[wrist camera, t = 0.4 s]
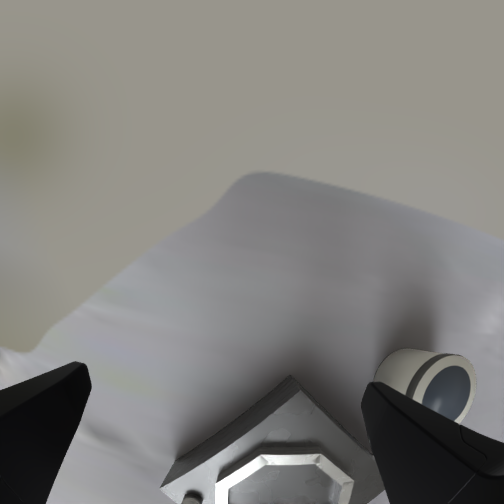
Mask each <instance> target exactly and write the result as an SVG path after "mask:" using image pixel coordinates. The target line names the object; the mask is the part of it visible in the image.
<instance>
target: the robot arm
mask: <svg viewBox="0 0 504 504" xmlns="http://www.w3.org/2000/svg"><path fill="white" fill-rule="evenodd" d="M91 388H92V385H91V380H90V376H89V372H88V368H87V366H86V364H84V363H81V362H76V361H74V362H72V363H69V364H67V365H64V366H62V367H59V368H57V369H54V370H52V371H49V372H47V373H44V374H42V375H39V376H36V377H34V378H31V379H29V380H26V381H24V382H21V383H18V384H16V385H13V386H10V387H8V388H5V389H2V390H0V504H46V502H47V499H48V496H49V494H50V491H51V489H52V486H53V484H54V481H55V479H56V476H57V474H58V471H59V469H60V467H61V464H62V462H63V460H64V457H65V455H66V453H67V450H68V448H69V446H70V444H71V441H72V439H73V437H74V435H75V433H76V431H77V428H78V426H79V424H80V421H81V418H82V415H83V412H84V409H85V406H86V403H87V400H88V397H89V395H90V392H91ZM361 409H362V413H363V417H364V421H365V426H366V430H367V435H368V439H369V443H370V446H371V450H372V452H373V455H374V458H375V461H376V464H377V467H378V470H379V472H380V475H381V478H382V481H383V484H384V487H385V490H386V493H387V496H388V499H389V502H390V504H504V443H502V442H500V441H497V440H494V439H492V438H489V437H487V436H484V435H482V434H479V433H477V432H475V431H473V430H471V429H468V428H467V427H465V426H463V425H459V423H457V422H455V421H453V420H451V419H449V418H447V417H445V416H443V415H441V414H439V413H437V412H435V411H434V410H432V409H430V408H428V407H426V406H424V405H422V404H421V403H419V402H417V401H415V400H413V399H411V398H410V397H408V396H406V395H404V394H402V393H400V392H399V391H397V390H395V389H393V388H392V387H390V386H388V385H386V384H384V383H383V382H380V381H378V382H370V383H369V384H368V385H367V387H366V390H365V393H364V396H363V399H362V402H361Z"/></svg>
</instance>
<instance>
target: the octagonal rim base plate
mask: <svg viewBox="0 0 504 504" xmlns="http://www.w3.org/2000/svg"><path fill="white" fill-rule="evenodd" d="M159 489H160V490H161V491H162V492H164V493H165V494H166V495H167V496H168V497H169V498H171V499H172V500H173V501H174V502H175V503H177V504H367V503H369V502H370V501H371V500H372V499H374V498H375V497H376V496H377V495H379V494H380V493H381V492H382V491H384V490H385V487H384V484H383V481H382V478H381V475H380V472H379V470H378V467H377V464H376V461H375V458H374V456H373V455H372V454H371V453H370V452H368V451H367V450H366V449H365V448H364V447H363V446H362V445H361V444H360V443H359V442H358V441H357V440H356V439H355V438H353V437H352V436H351V435H350V434H349V433H348V432H347V431H346V430H345V429H344V428H343V427H342V426H341V425H340V424H339V423H338V422H337V421H336V420H335V419H334V418H333V417H332V416H331V415H330V414H329V413H328V412H327V411H325V410H324V409H323V408H322V407H321V406H320V405H319V404H318V403H317V402H316V401H315V400H314V399H313V398H312V397H311V396H310V395H309V393H308V392H307V391H306V390H305V389H304V388H303V387H302V386H301V385H300V384H299V383H298V382H297V381H296V380H295V379H294V378H293V377H292V376H291V375H290V376H288V377H287V378H286V379H285V380H284V381H283V382H282V383H280V384H279V385H278V386H277V387H276V388H274V389H273V390H272V391H271V392H270V393H268V394H267V395H266V396H265V397H264V398H262V399H261V400H260V401H259V402H257V403H256V404H255V405H254V406H252V407H251V408H250V409H248V410H247V411H246V412H245V413H243V414H242V415H241V416H239V417H238V418H237V419H235V420H234V421H233V422H231V423H230V424H229V425H227V426H226V427H225V428H223V429H222V430H220V431H219V432H218V433H216V434H215V435H214V436H212V437H211V438H209V439H208V440H206V441H205V442H203V443H202V444H201V445H199V446H198V447H196V448H195V449H193V450H192V451H190V452H189V453H187V454H186V455H184V456H182V457H181V458H179V459H178V460H176V461H175V462H174V464H173V465H172V467H171V469H170V471H169V473H168V474H167V476H166V478H165V480H164V481H163V483H162V485H161V487H160V488H159Z"/></svg>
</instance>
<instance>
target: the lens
mask: <svg viewBox="0 0 504 504" xmlns="http://www.w3.org/2000/svg"><path fill="white" fill-rule="evenodd" d="M378 381H380V382H383V383H384V384H386V385H388V386H390V387H392V388H393V389H395V390H397V391H399V392H400V393H402V394H404V395H406V396H408V397H410V398H411V399H413V400H415V401H417V402H419V403H421V404H422V405H424V406H426V407H428V408H430V409H432V410H434V411H435V412H437V413H439V414H441V415H443V416H445V417H447V418H449V419H451V420H453V421H455V422H457V423H460V422H461V421H462V420H463V418H464V417H465V416H466V414H467V413H468V411H469V409H470V407H471V405H472V402H473V399H474V396H475V392H476V374H475V370H474V368H473V366H472V364H471V363H470V361H469V360H467V359H466V358H464V357H463V356H460V355H455V354H447V353H446V354H443V353H436V352H429V351H422V350H416V349H410V348H405V349H400V350H397V351H395V352H393V353H392V354H390V355H389V356H388V357H387V358H386V359H385V360H384V361H383V362H382V363H381V365H380V366H379V368H378V370H377V372H376V374H375V377H374V381H373V382H378Z"/></svg>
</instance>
